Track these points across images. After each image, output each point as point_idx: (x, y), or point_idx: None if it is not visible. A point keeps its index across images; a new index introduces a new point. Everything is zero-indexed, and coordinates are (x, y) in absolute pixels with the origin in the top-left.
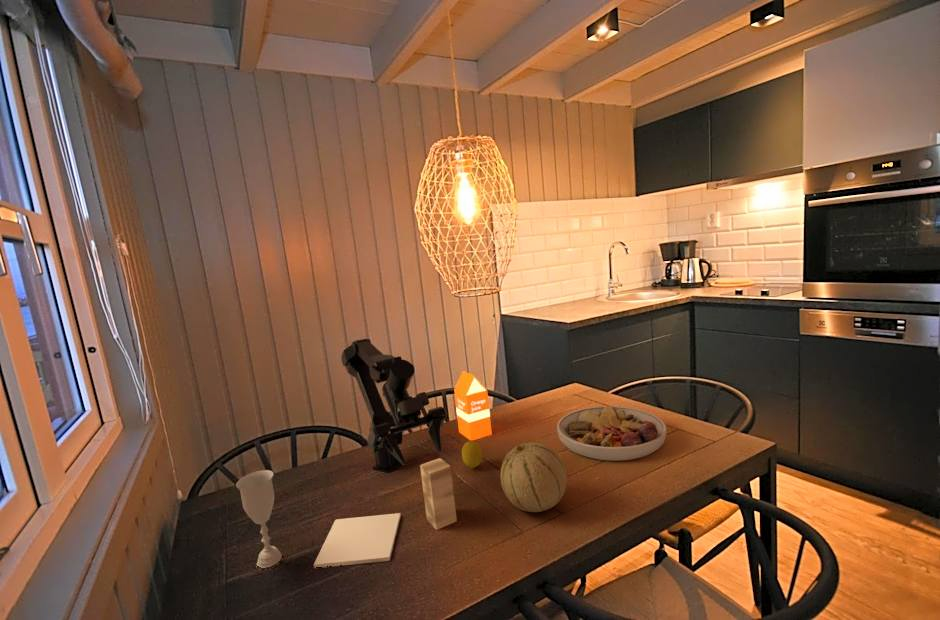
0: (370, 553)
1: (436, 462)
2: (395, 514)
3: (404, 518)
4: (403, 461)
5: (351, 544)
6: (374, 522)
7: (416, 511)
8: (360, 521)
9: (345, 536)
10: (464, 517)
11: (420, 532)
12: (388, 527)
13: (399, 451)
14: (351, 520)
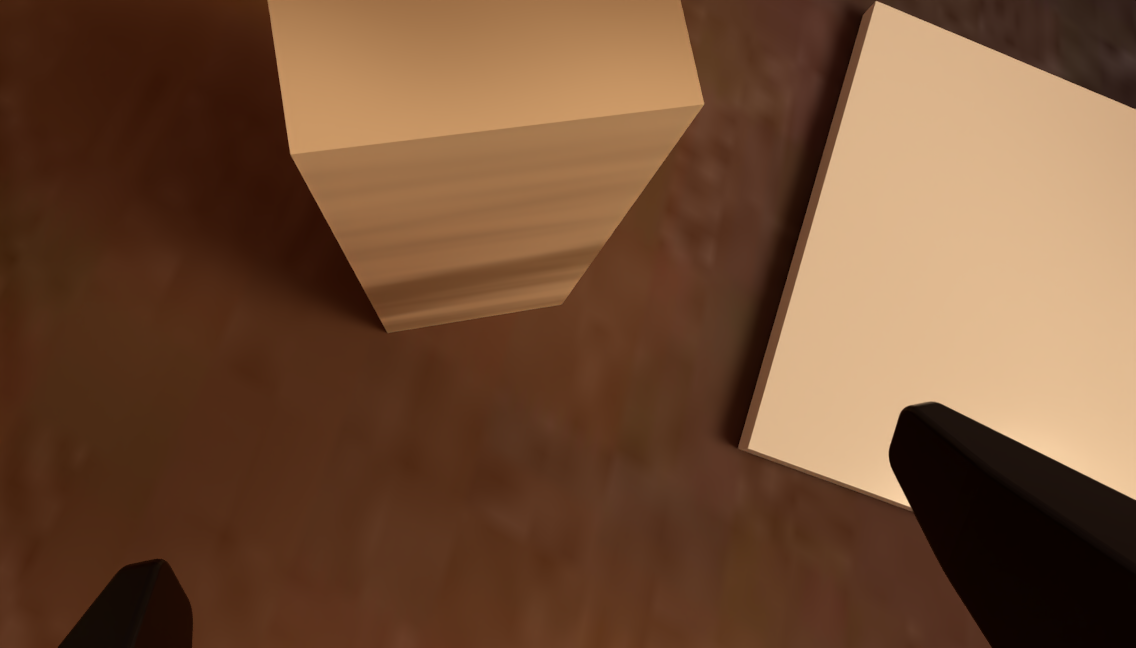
0: (978, 92)
1: (414, 22)
2: (785, 446)
3: (715, 405)
4: (945, 417)
5: (1088, 242)
6: None
7: (610, 454)
8: None
9: (1129, 353)
10: (288, 177)
11: None
12: (852, 302)
13: (1129, 542)
14: None
